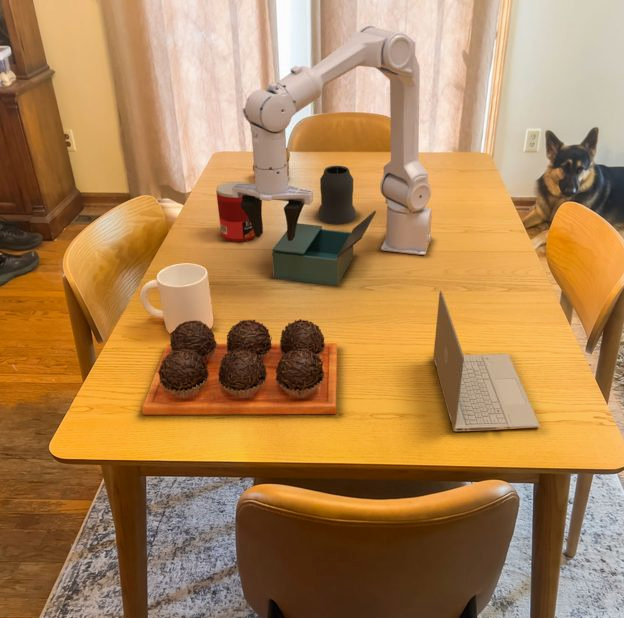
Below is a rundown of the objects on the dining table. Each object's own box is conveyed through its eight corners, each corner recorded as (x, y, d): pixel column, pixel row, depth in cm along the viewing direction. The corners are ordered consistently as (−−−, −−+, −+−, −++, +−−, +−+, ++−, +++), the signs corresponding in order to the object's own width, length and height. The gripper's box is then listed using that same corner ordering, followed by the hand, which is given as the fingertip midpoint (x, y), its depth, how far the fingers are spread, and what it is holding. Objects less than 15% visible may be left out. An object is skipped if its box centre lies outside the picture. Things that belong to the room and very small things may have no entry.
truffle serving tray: (336, 351, 111) (336, 307, 107) (336, 415, 98) (335, 368, 93) (167, 351, 111) (159, 307, 106) (143, 415, 97) (133, 368, 93)
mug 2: (355, 224, 154) (356, 177, 147) (316, 223, 154) (314, 176, 148) (357, 204, 164) (357, 159, 157) (320, 204, 164) (319, 158, 158)
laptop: (539, 430, 95) (556, 354, 88) (452, 433, 94) (461, 357, 87) (508, 357, 110) (520, 287, 103) (432, 359, 109) (438, 289, 102)
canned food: (251, 244, 145) (246, 195, 139) (215, 241, 146) (210, 192, 140) (261, 229, 151) (258, 182, 145) (228, 226, 153) (223, 180, 146)
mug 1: (138, 337, 114) (127, 284, 109) (153, 312, 121) (144, 261, 115) (207, 340, 114) (199, 287, 108) (219, 315, 120) (212, 264, 115)
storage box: (353, 256, 140) (353, 229, 137) (337, 285, 130) (337, 256, 126) (293, 250, 143) (292, 222, 139) (273, 278, 132) (271, 249, 129)
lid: (353, 229, 137) (354, 230, 137) (336, 256, 126) (338, 257, 126) (375, 210, 133) (376, 211, 133) (360, 237, 123) (361, 238, 123)
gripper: (222, 168, 114) (230, 241, 122) (303, 175, 111) (306, 250, 119) (237, 155, 120) (244, 226, 128) (315, 162, 117) (317, 234, 125)
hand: (275, 236), depth 124 cm, fingers open, 6 cm apart
